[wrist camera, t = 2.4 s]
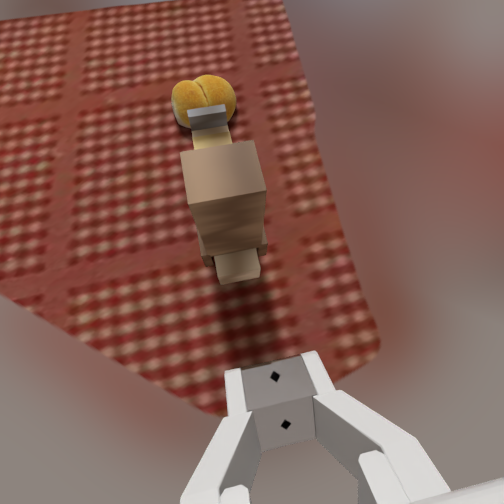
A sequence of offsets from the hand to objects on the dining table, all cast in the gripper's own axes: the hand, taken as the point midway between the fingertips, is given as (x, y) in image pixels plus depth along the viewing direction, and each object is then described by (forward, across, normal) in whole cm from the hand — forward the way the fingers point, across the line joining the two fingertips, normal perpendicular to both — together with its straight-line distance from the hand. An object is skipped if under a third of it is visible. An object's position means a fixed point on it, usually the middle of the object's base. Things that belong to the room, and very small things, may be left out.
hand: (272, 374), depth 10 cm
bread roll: (+42, 0, -8) cm, 43 cm away
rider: (+22, 0, +4) cm, 22 cm away
